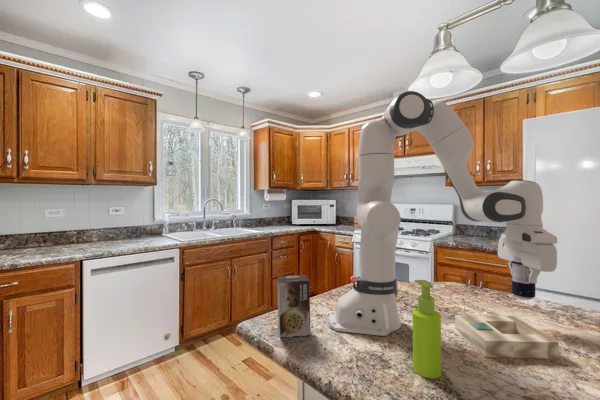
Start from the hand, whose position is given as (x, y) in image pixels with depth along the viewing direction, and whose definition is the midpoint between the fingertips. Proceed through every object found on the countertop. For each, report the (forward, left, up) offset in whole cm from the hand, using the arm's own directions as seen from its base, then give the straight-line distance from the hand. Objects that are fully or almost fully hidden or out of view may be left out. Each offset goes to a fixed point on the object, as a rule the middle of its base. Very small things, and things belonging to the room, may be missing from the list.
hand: (523, 279), depth 87 cm
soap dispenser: (-38, -24, -15) cm, 47 cm away
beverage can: (0, 0, -6) cm, 6 cm away
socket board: (-13, -10, -14) cm, 22 cm away
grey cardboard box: (-70, -7, -15) cm, 71 cm away
